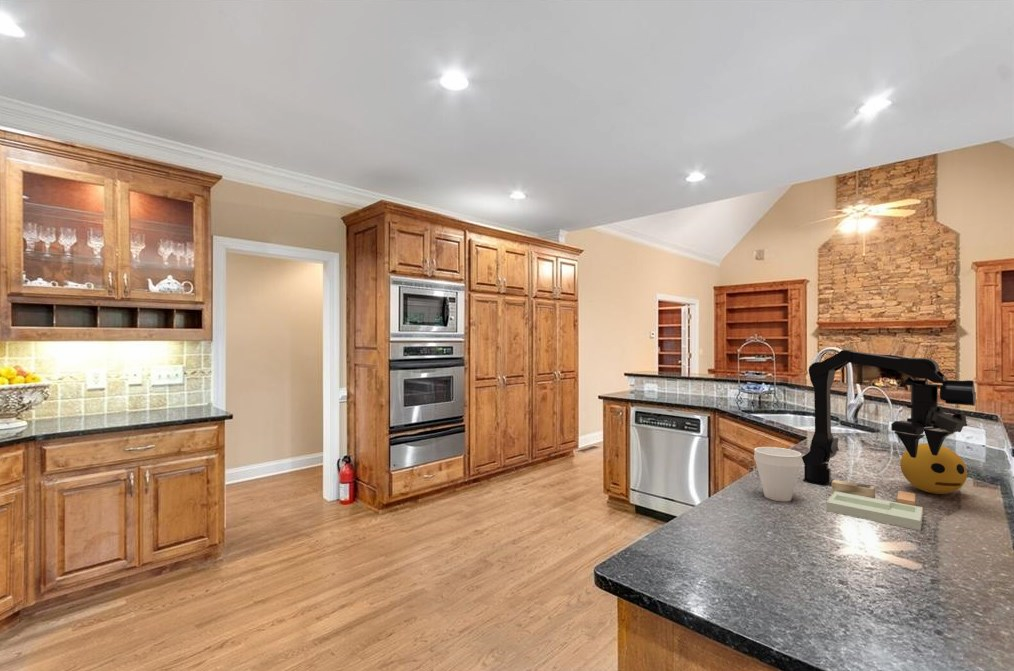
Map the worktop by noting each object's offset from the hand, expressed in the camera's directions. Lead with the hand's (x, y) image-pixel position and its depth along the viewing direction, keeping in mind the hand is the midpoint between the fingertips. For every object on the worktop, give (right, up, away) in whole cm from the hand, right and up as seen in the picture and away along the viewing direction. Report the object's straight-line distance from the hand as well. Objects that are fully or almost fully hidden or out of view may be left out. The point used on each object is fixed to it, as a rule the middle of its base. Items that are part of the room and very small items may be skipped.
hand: (924, 456), depth 130 cm
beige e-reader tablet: (-16, -14, +5) cm, 22 cm away
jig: (-21, -13, -8) cm, 26 cm away
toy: (+12, -14, +10) cm, 21 cm away
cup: (-39, -14, +5) cm, 42 cm away
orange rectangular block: (-8, -14, -3) cm, 16 cm away
